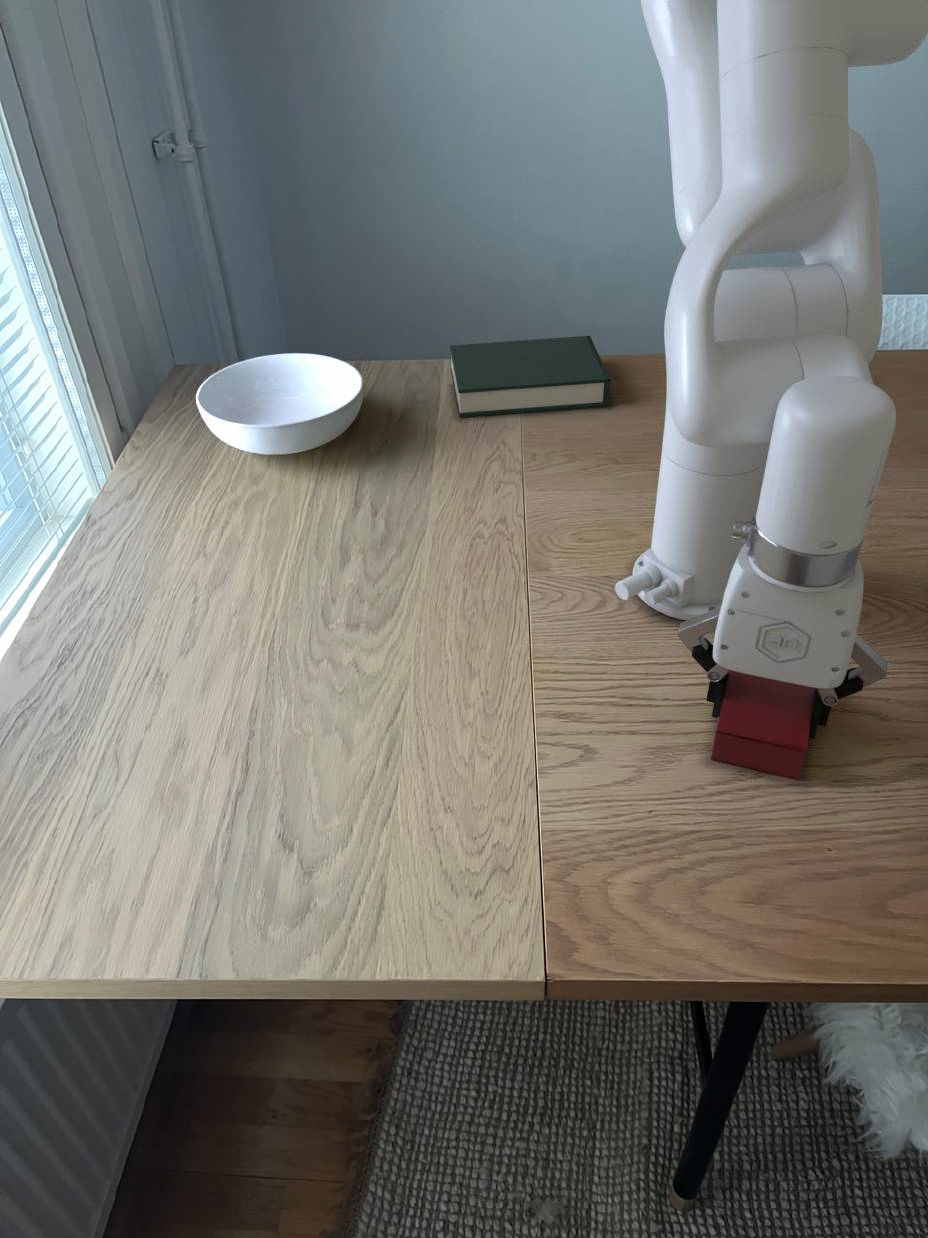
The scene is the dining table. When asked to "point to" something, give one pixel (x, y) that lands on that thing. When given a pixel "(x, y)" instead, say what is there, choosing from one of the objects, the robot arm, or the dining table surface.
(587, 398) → the hardcover
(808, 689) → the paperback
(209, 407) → the serving bowl
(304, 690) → the dining table surface
